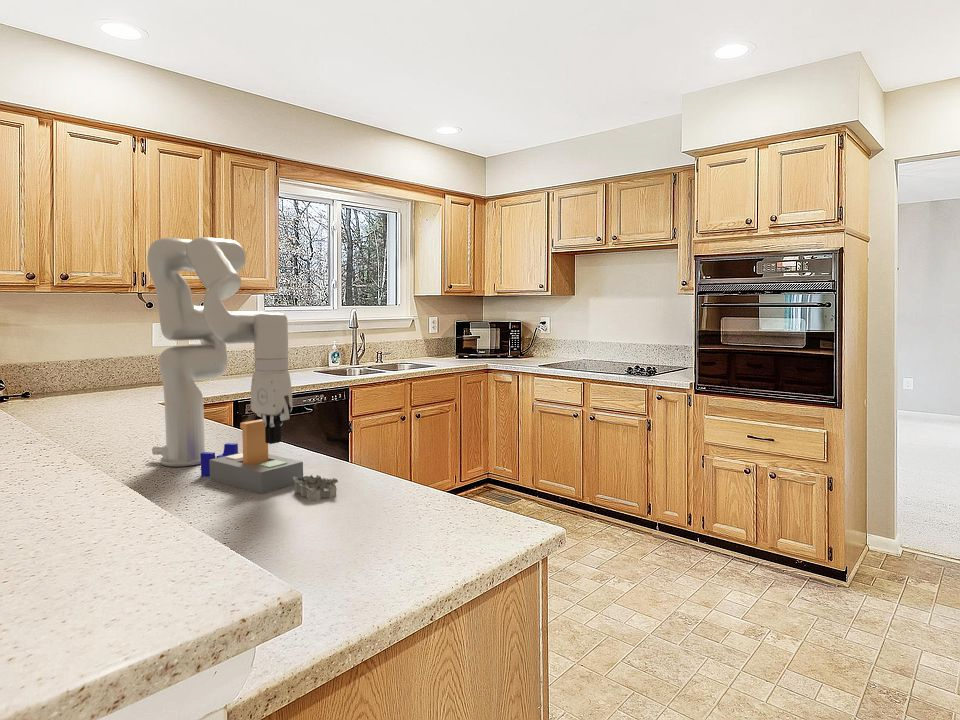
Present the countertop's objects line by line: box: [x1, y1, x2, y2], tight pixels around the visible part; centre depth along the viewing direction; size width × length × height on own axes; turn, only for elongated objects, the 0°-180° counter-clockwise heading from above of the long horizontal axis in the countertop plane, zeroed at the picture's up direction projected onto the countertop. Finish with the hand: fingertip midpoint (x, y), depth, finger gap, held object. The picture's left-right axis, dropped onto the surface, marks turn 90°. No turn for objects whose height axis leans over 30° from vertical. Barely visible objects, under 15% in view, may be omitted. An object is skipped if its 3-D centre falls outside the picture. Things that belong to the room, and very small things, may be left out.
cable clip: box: [200, 442, 239, 478], centre depth 163 cm, size 12×4×6 cm, turn 170°
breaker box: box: [209, 451, 304, 495], centre depth 154 cm, size 20×12×5 cm, turn 56°
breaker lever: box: [239, 418, 269, 465], centre depth 153 cm, size 2×6×12 cm, turn 146°
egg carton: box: [293, 474, 339, 501], centre depth 144 cm, size 11×8×4 cm
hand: (273, 442), depth 149 cm, fingers closed
